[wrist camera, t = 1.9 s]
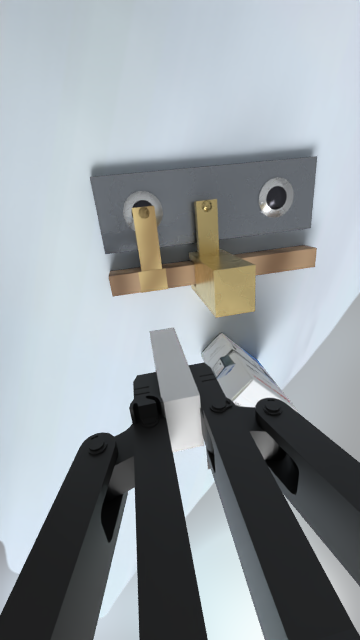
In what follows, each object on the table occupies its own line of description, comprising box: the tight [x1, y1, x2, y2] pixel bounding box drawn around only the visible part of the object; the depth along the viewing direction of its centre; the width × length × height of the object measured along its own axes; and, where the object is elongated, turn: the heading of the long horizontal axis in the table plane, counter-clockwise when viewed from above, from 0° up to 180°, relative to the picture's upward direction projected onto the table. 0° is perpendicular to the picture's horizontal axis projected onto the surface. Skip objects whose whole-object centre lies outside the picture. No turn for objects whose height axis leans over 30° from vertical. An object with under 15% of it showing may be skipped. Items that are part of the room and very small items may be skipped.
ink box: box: [201, 333, 297, 412], centre depth 37 cm, size 9×5×12 cm, turn 50°
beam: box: [109, 206, 317, 296], centre depth 33 cm, size 26×9×3 cm, turn 96°
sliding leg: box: [189, 199, 256, 318], centre depth 29 cm, size 4×10×11 cm, turn 6°
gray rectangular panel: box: [90, 156, 317, 254], centre depth 32 cm, size 26×8×1 cm, turn 96°
